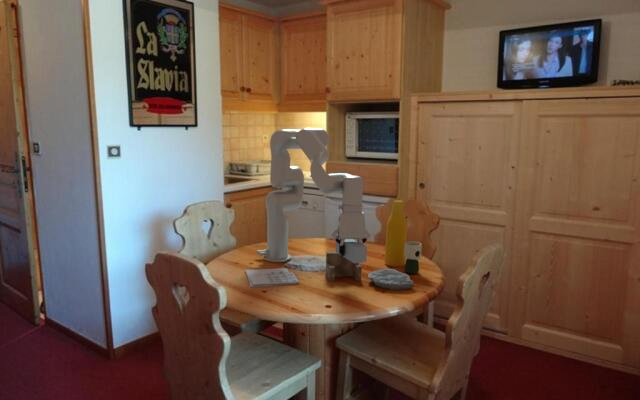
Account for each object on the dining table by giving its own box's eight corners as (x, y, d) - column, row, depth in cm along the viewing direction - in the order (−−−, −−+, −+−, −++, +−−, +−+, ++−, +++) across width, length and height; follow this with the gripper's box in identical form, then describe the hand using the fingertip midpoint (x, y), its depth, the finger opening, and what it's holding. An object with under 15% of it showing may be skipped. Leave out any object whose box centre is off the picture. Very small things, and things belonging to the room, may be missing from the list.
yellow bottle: (399, 268, 208) (402, 203, 203) (380, 264, 214) (383, 200, 209) (408, 263, 215) (412, 201, 211) (390, 259, 221) (394, 198, 216)
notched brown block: (329, 281, 188) (330, 254, 186) (325, 275, 196) (326, 248, 194) (361, 280, 190) (362, 253, 188) (355, 274, 199) (356, 248, 197)
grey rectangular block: (353, 263, 173) (354, 244, 172) (335, 252, 187) (335, 234, 186) (366, 262, 175) (367, 243, 174) (347, 250, 189) (347, 233, 188)
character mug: (414, 277, 196) (416, 247, 194) (398, 274, 200) (400, 244, 198) (424, 271, 205) (426, 242, 203) (409, 268, 209) (410, 239, 207)
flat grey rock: (359, 278, 194) (359, 271, 194) (395, 274, 200) (396, 267, 200) (381, 294, 176) (382, 287, 176) (421, 290, 182) (421, 282, 182)
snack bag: (250, 288, 179) (250, 283, 179) (244, 272, 199) (244, 267, 198) (299, 285, 185) (299, 280, 184) (289, 269, 204) (289, 265, 203)
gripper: (331, 210, 173) (330, 258, 176) (377, 210, 176) (374, 257, 179) (327, 206, 180) (326, 252, 183) (371, 206, 184) (369, 251, 186)
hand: (350, 254), depth 181 cm, fingers closed on grey rectangular block, 5 cm apart
